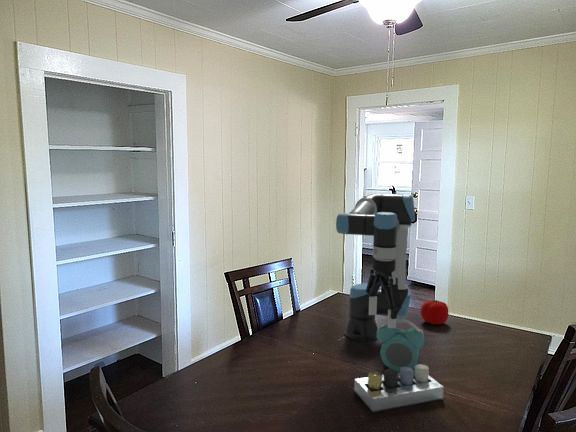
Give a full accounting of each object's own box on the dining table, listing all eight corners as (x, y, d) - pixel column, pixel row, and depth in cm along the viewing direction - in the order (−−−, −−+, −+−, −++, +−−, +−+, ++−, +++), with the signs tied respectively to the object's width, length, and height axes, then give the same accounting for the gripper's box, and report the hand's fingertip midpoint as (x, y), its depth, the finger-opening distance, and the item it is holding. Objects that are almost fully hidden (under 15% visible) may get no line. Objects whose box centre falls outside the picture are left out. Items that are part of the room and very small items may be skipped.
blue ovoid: (396, 384, 146) (397, 367, 145) (407, 382, 147) (408, 365, 146) (403, 390, 141) (404, 373, 141) (415, 388, 143) (416, 371, 142)
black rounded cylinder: (381, 386, 144) (381, 370, 143) (392, 385, 145) (393, 368, 144) (388, 393, 140) (388, 376, 139) (399, 391, 141) (400, 374, 140)
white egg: (411, 381, 147) (412, 365, 147) (422, 379, 149) (423, 363, 148) (419, 388, 143) (420, 371, 142) (430, 386, 145) (431, 369, 144)
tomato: (452, 328, 203) (453, 304, 202) (423, 327, 204) (425, 304, 202) (443, 318, 216) (444, 296, 214) (416, 318, 216) (417, 296, 214)
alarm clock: (423, 366, 165) (425, 316, 162) (422, 377, 156) (424, 325, 153) (377, 359, 170) (379, 310, 168) (374, 370, 161) (376, 319, 159)
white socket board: (354, 391, 146) (354, 379, 145) (419, 380, 154) (420, 368, 153) (372, 412, 134) (373, 399, 133) (442, 399, 141) (443, 386, 141)
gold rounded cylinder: (365, 389, 142) (365, 372, 141) (376, 387, 143) (377, 370, 143) (371, 396, 138) (372, 378, 137) (383, 394, 139) (384, 376, 138)
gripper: (357, 252, 153) (355, 310, 155) (393, 267, 130) (391, 335, 133) (375, 251, 155) (373, 308, 158) (414, 266, 132) (411, 332, 135)
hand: (381, 320), depth 145 cm, fingers open, 12 cm apart
